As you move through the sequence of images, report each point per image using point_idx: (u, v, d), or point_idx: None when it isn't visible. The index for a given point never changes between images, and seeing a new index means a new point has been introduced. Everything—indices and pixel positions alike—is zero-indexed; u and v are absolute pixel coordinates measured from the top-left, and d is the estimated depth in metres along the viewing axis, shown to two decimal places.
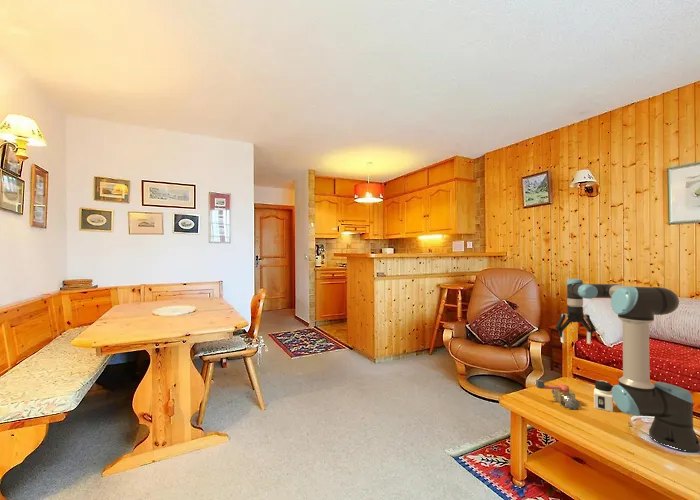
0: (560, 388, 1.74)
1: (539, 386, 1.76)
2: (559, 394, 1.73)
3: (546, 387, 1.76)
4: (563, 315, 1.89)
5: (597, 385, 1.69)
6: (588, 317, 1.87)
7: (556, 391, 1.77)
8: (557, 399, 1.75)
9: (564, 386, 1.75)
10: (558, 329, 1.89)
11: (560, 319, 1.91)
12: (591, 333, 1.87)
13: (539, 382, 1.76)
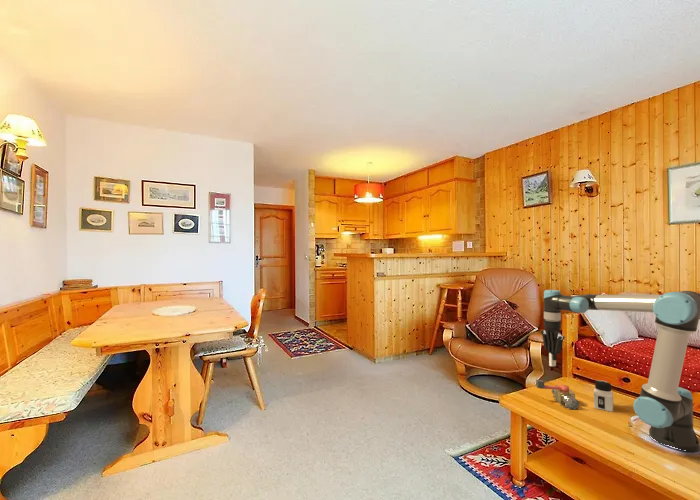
0: (560, 388, 1.74)
1: (539, 386, 1.76)
2: (559, 394, 1.73)
3: (546, 387, 1.76)
4: (541, 332, 1.76)
5: (597, 385, 1.69)
6: (558, 338, 1.65)
7: (556, 391, 1.77)
8: (557, 399, 1.75)
9: (564, 386, 1.75)
10: (545, 349, 1.73)
11: None
12: (553, 355, 1.69)
13: (539, 382, 1.76)
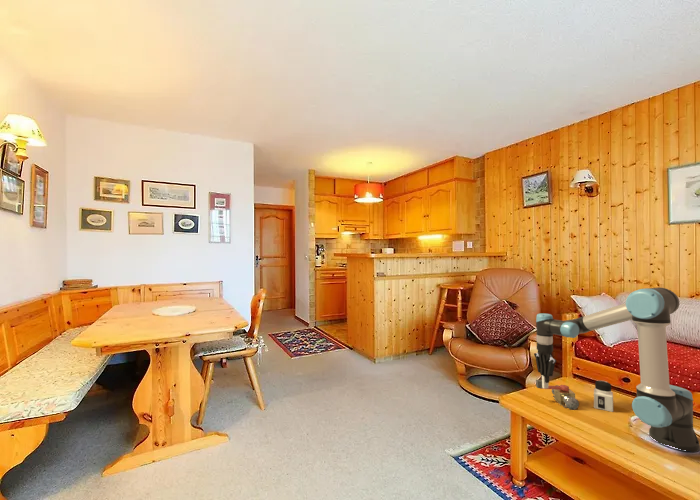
0: (560, 388, 1.74)
1: (539, 386, 1.76)
2: (559, 394, 1.73)
3: None
4: (534, 354, 1.80)
5: (597, 385, 1.69)
6: (550, 361, 1.69)
7: (556, 391, 1.77)
8: (557, 399, 1.75)
9: (564, 386, 1.75)
10: (538, 371, 1.77)
11: None
12: (546, 377, 1.73)
13: (539, 382, 1.76)
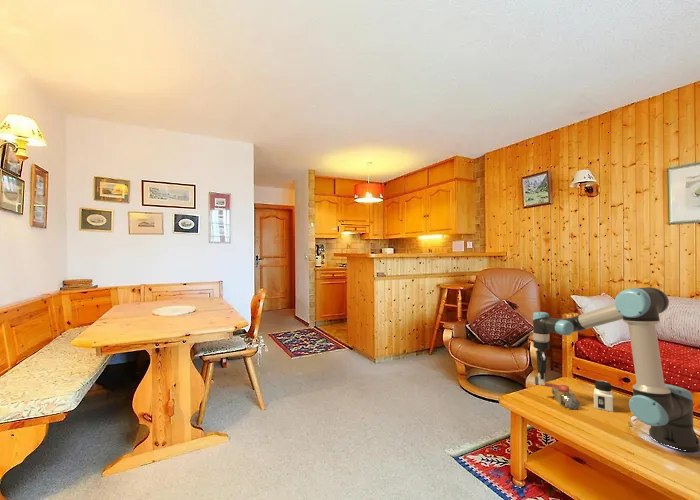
0: (559, 387, 1.76)
1: (536, 382, 1.81)
2: (559, 394, 1.73)
3: None
4: (536, 352, 1.86)
5: (597, 385, 1.69)
6: (541, 358, 1.75)
7: (556, 391, 1.77)
8: (557, 399, 1.75)
9: (564, 386, 1.75)
10: (537, 368, 1.82)
11: None
12: (540, 374, 1.78)
13: (536, 378, 1.81)
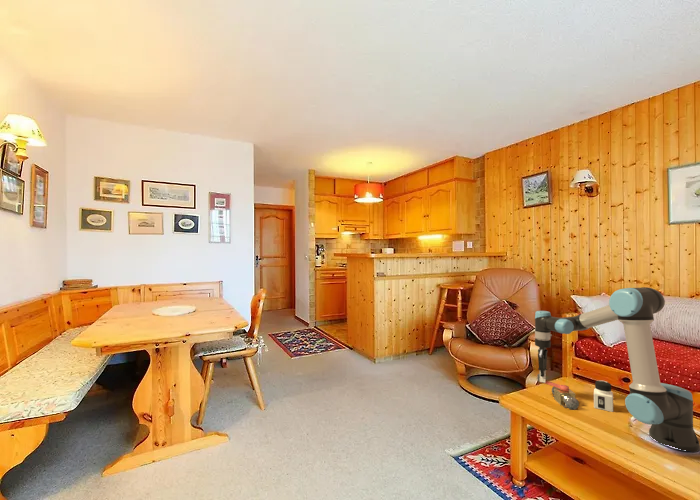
0: (558, 386, 1.77)
1: (538, 379, 1.85)
2: (559, 394, 1.73)
3: (545, 382, 1.82)
4: None
5: (597, 385, 1.69)
6: None
7: (556, 391, 1.77)
8: (557, 399, 1.75)
9: (564, 386, 1.75)
10: None
11: None
12: (540, 371, 1.82)
13: (538, 375, 1.85)
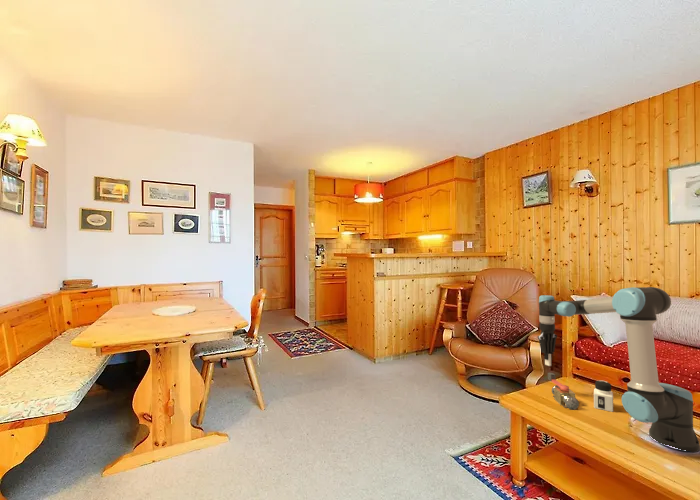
0: (560, 386, 1.77)
1: (548, 377, 1.88)
2: (559, 394, 1.73)
3: (552, 381, 1.84)
4: None
5: (597, 385, 1.69)
6: None
7: (556, 391, 1.77)
8: (557, 399, 1.75)
9: (564, 386, 1.75)
10: None
11: None
12: None
13: (548, 374, 1.88)
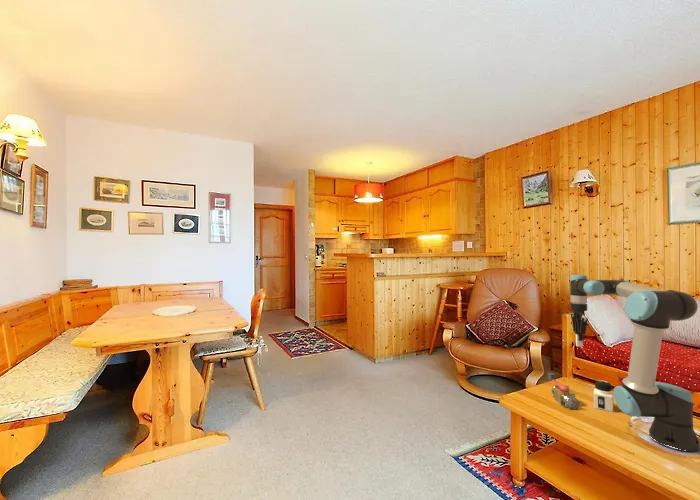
0: (560, 386, 1.77)
1: (548, 377, 1.88)
2: (559, 394, 1.73)
3: (552, 381, 1.84)
4: None
5: (597, 385, 1.69)
6: (581, 319, 1.76)
7: (556, 391, 1.77)
8: (557, 399, 1.75)
9: (564, 386, 1.75)
10: (573, 330, 1.84)
11: None
12: (579, 336, 1.79)
13: (548, 374, 1.88)
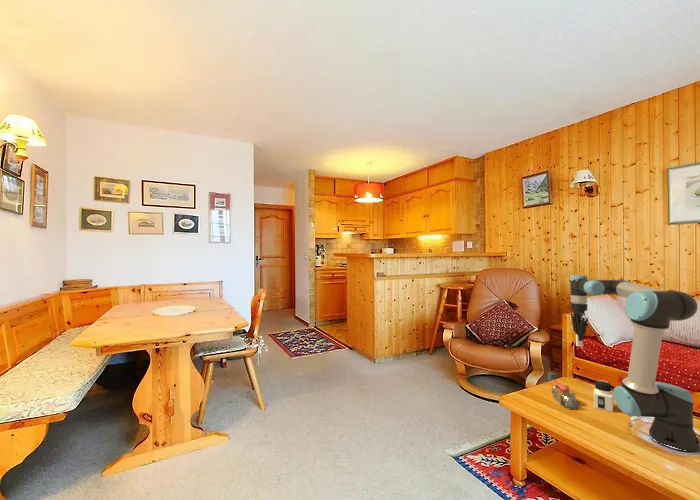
0: (560, 386, 1.77)
1: (548, 377, 1.88)
2: (559, 394, 1.73)
3: (552, 381, 1.84)
4: (571, 315, 1.87)
5: (597, 385, 1.69)
6: (581, 319, 1.76)
7: (556, 391, 1.77)
8: (557, 399, 1.75)
9: (564, 386, 1.75)
10: (573, 330, 1.84)
11: None
12: (579, 335, 1.79)
13: (548, 374, 1.88)
